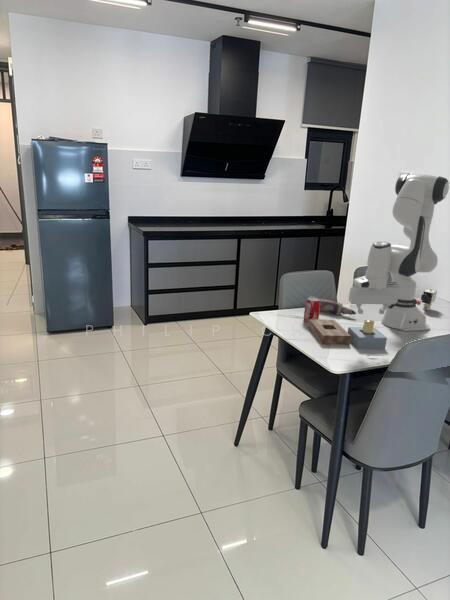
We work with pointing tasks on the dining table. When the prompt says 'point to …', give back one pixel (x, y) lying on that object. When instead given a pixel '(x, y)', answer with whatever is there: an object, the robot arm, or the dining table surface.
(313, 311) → the soda can
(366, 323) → the brass pin
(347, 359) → the dining table surface
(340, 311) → the decorative bottle
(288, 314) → the dining table surface
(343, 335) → the wooden socket block
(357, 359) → the dining table surface
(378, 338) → the dock block
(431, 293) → the pneumatic valve
